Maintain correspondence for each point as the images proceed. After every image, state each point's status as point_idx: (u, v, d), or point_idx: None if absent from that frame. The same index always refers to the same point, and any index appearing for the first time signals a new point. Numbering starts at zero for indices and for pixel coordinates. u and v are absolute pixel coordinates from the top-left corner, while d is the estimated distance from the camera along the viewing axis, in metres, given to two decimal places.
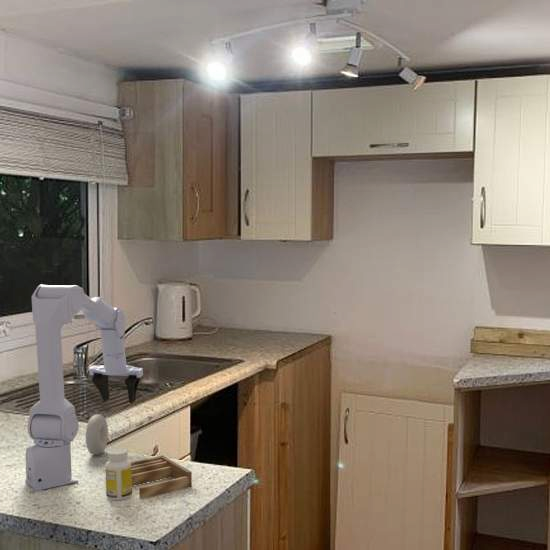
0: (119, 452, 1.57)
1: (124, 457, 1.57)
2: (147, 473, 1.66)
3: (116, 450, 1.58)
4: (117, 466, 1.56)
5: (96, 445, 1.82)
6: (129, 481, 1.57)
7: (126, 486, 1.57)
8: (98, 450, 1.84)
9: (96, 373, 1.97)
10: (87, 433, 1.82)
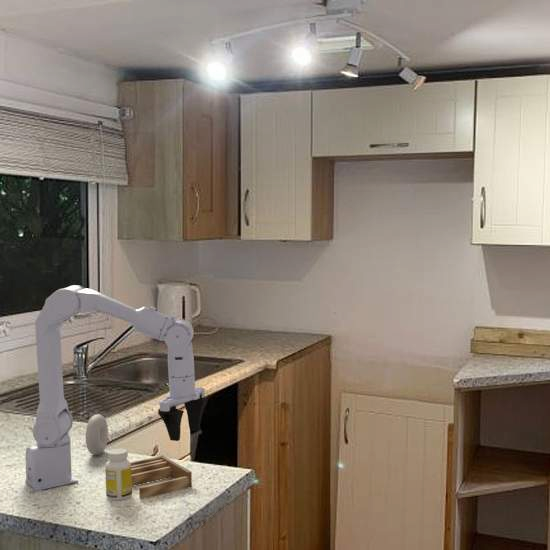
0: (119, 452, 1.57)
1: (124, 457, 1.57)
2: (147, 473, 1.66)
3: (116, 450, 1.58)
4: (117, 466, 1.56)
5: (96, 445, 1.82)
6: (129, 481, 1.57)
7: (126, 486, 1.57)
8: (98, 450, 1.84)
9: None
10: (87, 433, 1.82)
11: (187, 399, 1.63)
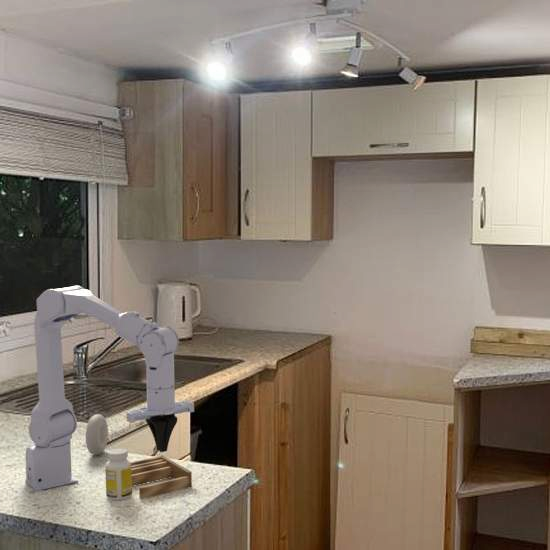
0: (119, 452, 1.57)
1: (124, 457, 1.57)
2: (147, 473, 1.66)
3: (116, 450, 1.58)
4: (117, 466, 1.56)
5: (96, 445, 1.82)
6: (129, 481, 1.57)
7: (126, 486, 1.57)
8: (98, 450, 1.84)
9: None
10: (87, 433, 1.82)
11: (158, 413, 1.52)
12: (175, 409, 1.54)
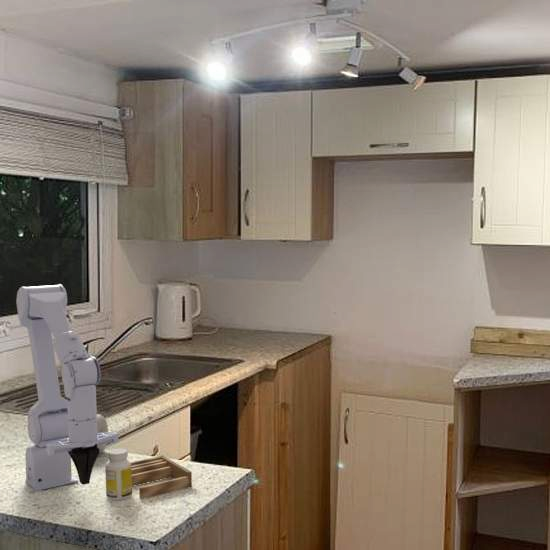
0: (119, 452, 1.57)
1: (124, 457, 1.57)
2: (147, 473, 1.66)
3: (116, 450, 1.58)
4: (117, 466, 1.56)
5: None
6: (129, 481, 1.57)
7: (126, 486, 1.57)
8: None
9: None
10: None
11: (78, 445, 1.50)
12: (97, 441, 1.52)
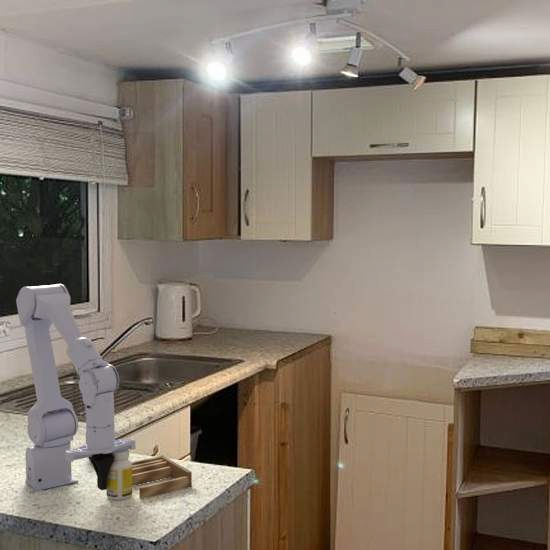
0: (121, 451, 1.57)
1: (126, 457, 1.57)
2: (147, 473, 1.66)
3: None
4: (119, 465, 1.56)
5: None
6: (130, 481, 1.57)
7: (127, 486, 1.57)
8: None
9: (124, 447, 1.59)
10: None
11: (97, 452, 1.52)
12: (115, 447, 1.55)
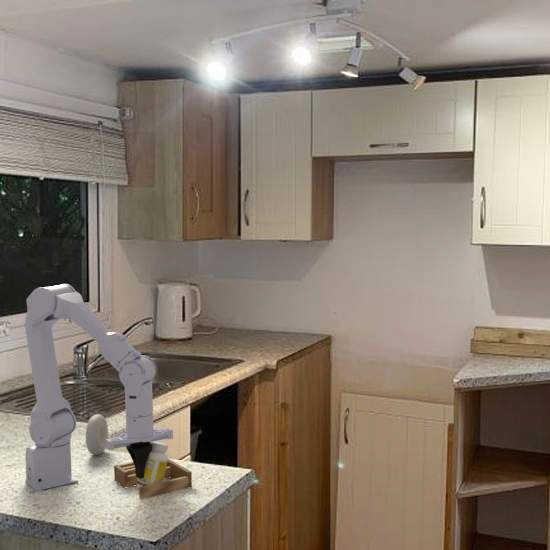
0: (161, 444, 1.62)
1: (165, 450, 1.62)
2: None
3: (157, 442, 1.63)
4: (157, 456, 1.60)
5: (96, 445, 1.82)
6: (163, 475, 1.61)
7: (159, 479, 1.60)
8: (98, 450, 1.84)
9: None
10: (87, 433, 1.82)
11: (136, 440, 1.57)
12: (153, 436, 1.59)
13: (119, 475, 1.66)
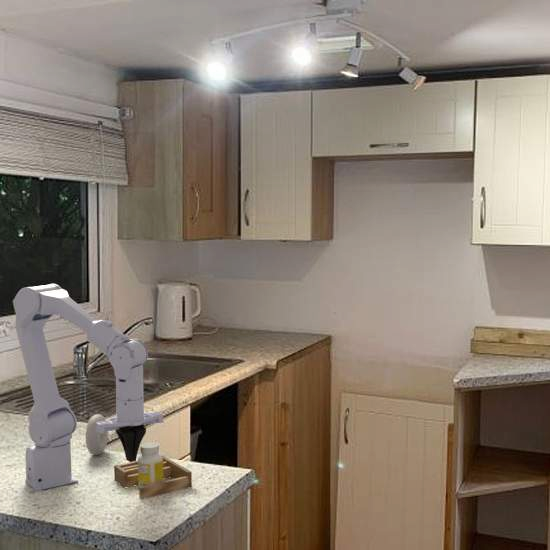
0: (151, 446, 1.61)
1: (157, 451, 1.61)
2: None
3: (147, 444, 1.62)
4: (150, 459, 1.59)
5: (96, 445, 1.82)
6: (162, 474, 1.61)
7: (159, 479, 1.61)
8: (98, 450, 1.84)
9: (152, 420, 1.63)
10: (87, 433, 1.82)
11: (127, 424, 1.56)
12: (144, 420, 1.58)
13: (119, 475, 1.66)
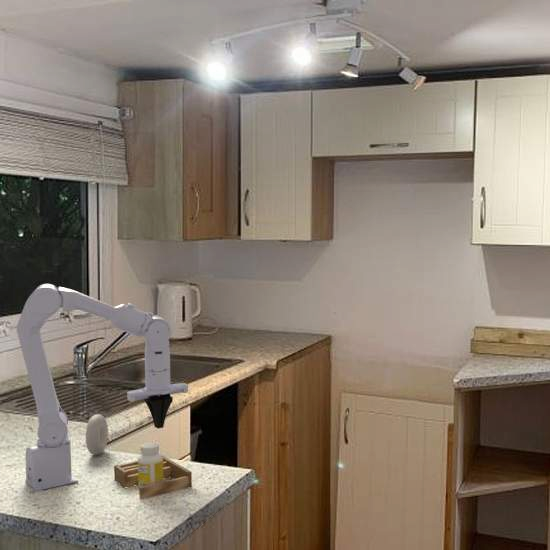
0: (151, 446, 1.61)
1: (157, 451, 1.61)
2: None
3: (147, 444, 1.62)
4: (151, 459, 1.59)
5: (96, 445, 1.82)
6: (162, 474, 1.61)
7: (159, 479, 1.61)
8: (98, 450, 1.84)
9: None
10: (87, 433, 1.82)
11: (155, 393, 1.69)
12: (171, 389, 1.72)
13: (119, 475, 1.66)
